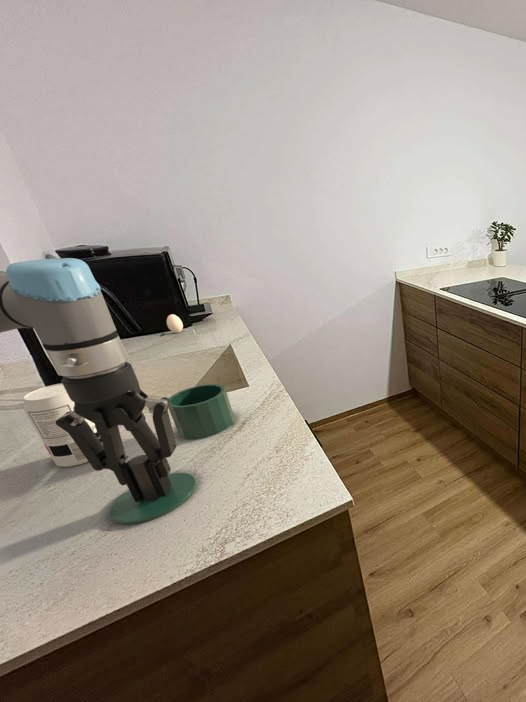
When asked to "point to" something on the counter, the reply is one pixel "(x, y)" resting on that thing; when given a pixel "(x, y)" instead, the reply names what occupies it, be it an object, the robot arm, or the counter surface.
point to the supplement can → (43, 415)
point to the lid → (151, 495)
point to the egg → (174, 323)
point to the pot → (201, 411)
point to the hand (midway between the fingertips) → (154, 493)
